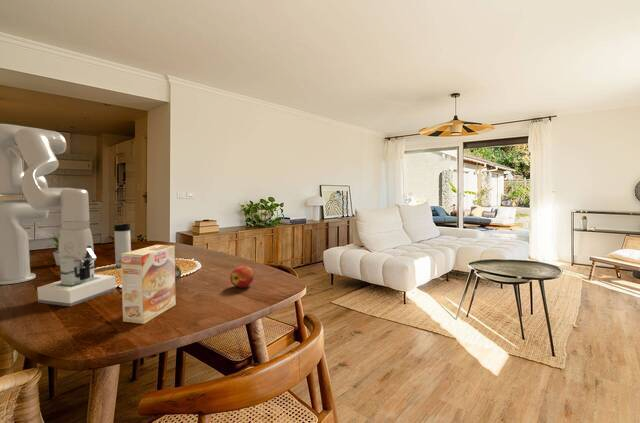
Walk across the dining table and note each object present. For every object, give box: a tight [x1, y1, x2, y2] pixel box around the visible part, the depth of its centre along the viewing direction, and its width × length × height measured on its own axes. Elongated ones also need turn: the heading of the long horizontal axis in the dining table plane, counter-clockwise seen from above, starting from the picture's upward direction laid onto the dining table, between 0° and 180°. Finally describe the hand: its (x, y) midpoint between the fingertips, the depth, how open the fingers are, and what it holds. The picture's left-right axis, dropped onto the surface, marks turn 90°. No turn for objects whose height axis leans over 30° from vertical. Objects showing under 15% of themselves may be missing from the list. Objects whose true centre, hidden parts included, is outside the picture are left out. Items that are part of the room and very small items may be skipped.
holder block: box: [36, 273, 117, 307], centre depth 111 cm, size 13×17×5 cm
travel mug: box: [113, 223, 132, 268], centre depth 150 cm, size 6×7×20 cm
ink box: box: [59, 256, 95, 287], centre depth 110 cm, size 9×5×12 cm, turn 168°
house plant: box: [45, 231, 60, 267], centre depth 151 cm, size 14×14×16 cm
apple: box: [229, 265, 255, 289], centre depth 123 cm, size 8×8×8 cm
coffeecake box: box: [120, 244, 177, 325], centre depth 97 cm, size 15×7×20 cm, turn 170°
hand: (78, 277), depth 111 cm, fingers closed on ink box, 5 cm apart
